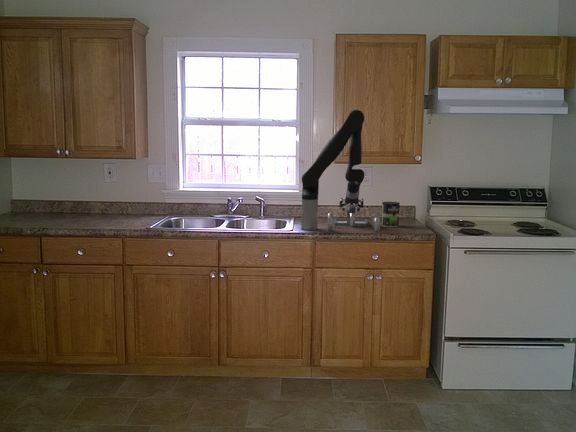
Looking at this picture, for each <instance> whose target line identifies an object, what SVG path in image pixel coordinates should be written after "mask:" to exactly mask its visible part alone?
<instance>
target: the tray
mask: <svg viewBox="0 0 576 432" xmlns="http://www.w3.org/2000/svg"><path fill="white" fill-rule="evenodd" d="M333 223H334V226H335V227H336V226H341V227H350V223H347V218H334V219H333ZM355 227H370V223H369V221H368V220H367V218H355Z"/></svg>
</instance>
